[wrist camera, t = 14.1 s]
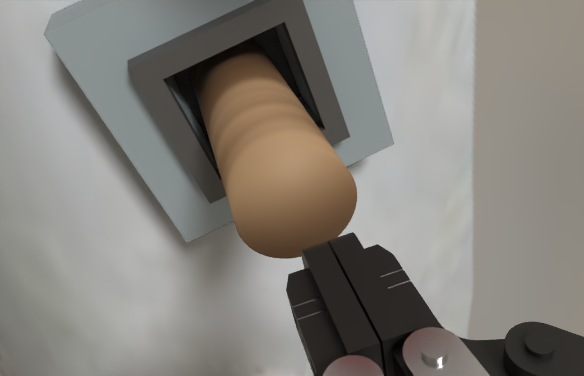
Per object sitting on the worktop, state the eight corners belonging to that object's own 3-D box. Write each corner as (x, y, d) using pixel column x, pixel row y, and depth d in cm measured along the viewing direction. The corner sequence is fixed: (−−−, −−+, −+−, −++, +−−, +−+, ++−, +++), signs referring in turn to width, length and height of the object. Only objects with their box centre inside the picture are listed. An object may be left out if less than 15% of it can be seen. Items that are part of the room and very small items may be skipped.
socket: (52, 14, 22) (40, 41, 19) (302, -104, 23) (332, -96, 19) (181, 210, 29) (189, 255, 26) (372, 119, 30) (402, 152, 26)
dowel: (176, 57, 25) (212, 189, 15) (252, 21, 25) (336, 130, 15) (212, 124, 27) (263, 276, 17) (281, 91, 27) (370, 225, 18)
